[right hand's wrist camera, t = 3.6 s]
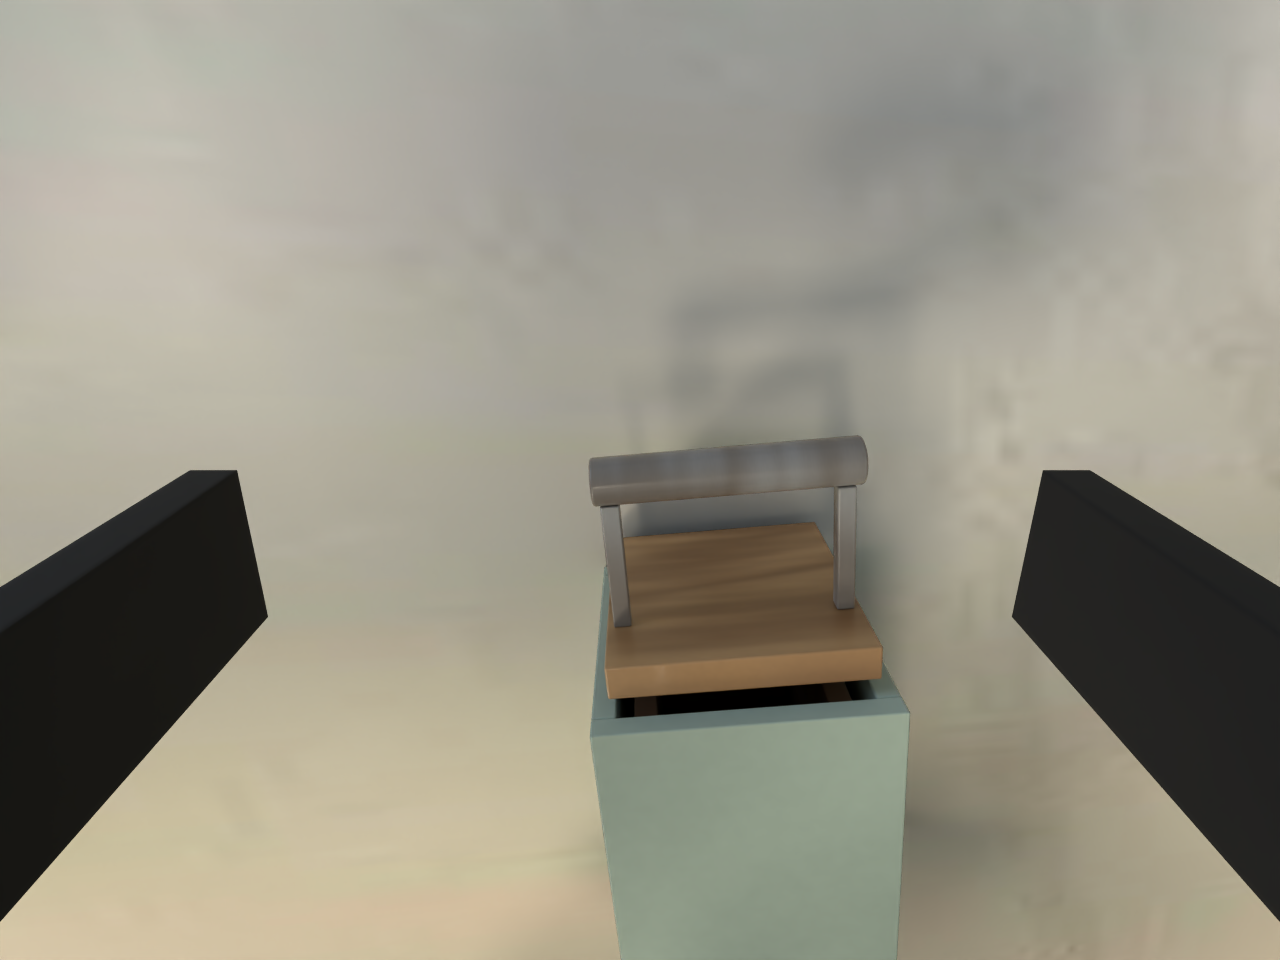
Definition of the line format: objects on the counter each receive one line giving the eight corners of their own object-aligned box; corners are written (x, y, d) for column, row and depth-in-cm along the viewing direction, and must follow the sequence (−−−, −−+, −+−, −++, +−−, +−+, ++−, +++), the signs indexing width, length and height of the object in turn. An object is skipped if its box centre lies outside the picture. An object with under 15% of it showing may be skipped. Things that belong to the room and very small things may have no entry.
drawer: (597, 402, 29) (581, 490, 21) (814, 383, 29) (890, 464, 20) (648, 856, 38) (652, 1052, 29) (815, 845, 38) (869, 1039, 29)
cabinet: (604, 566, 33) (589, 736, 23) (824, 548, 33) (910, 712, 22) (642, 883, 40) (643, 1124, 30) (823, 871, 40) (889, 1110, 29)
